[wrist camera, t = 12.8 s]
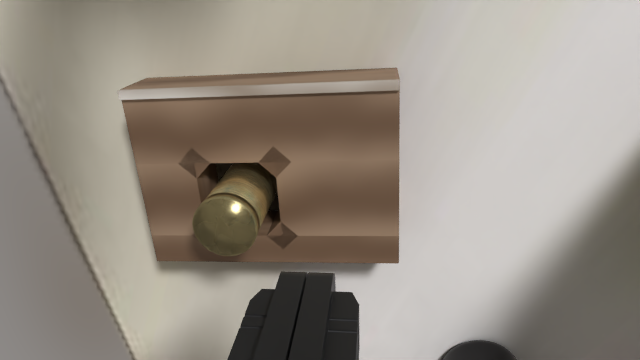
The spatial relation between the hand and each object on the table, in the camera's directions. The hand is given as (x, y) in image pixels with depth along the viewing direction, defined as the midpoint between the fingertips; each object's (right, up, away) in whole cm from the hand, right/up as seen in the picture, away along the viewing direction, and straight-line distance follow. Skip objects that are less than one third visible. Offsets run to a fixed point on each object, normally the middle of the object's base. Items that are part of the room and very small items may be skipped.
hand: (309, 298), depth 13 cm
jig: (-3, +5, +23) cm, 23 cm away
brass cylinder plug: (-5, +3, +23) cm, 24 cm away
